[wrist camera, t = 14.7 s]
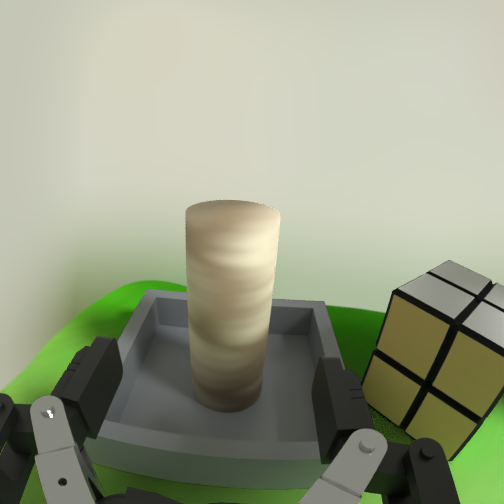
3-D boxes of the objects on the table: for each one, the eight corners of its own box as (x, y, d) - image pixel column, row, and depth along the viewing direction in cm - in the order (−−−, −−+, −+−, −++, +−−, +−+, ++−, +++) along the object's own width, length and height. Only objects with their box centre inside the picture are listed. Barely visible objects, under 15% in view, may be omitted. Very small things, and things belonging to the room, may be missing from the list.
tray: (316, 336, 30) (324, 301, 28) (347, 485, 15) (368, 454, 14) (151, 324, 30) (147, 289, 28) (92, 462, 15) (72, 428, 14)
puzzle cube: (415, 348, 28) (447, 257, 24) (492, 396, 21) (541, 304, 17) (354, 396, 23) (390, 287, 19) (447, 466, 15) (523, 362, 12)
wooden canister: (261, 366, 24) (278, 203, 19) (261, 414, 20) (284, 230, 15) (197, 361, 24) (195, 198, 19) (187, 408, 20) (175, 224, 15)
